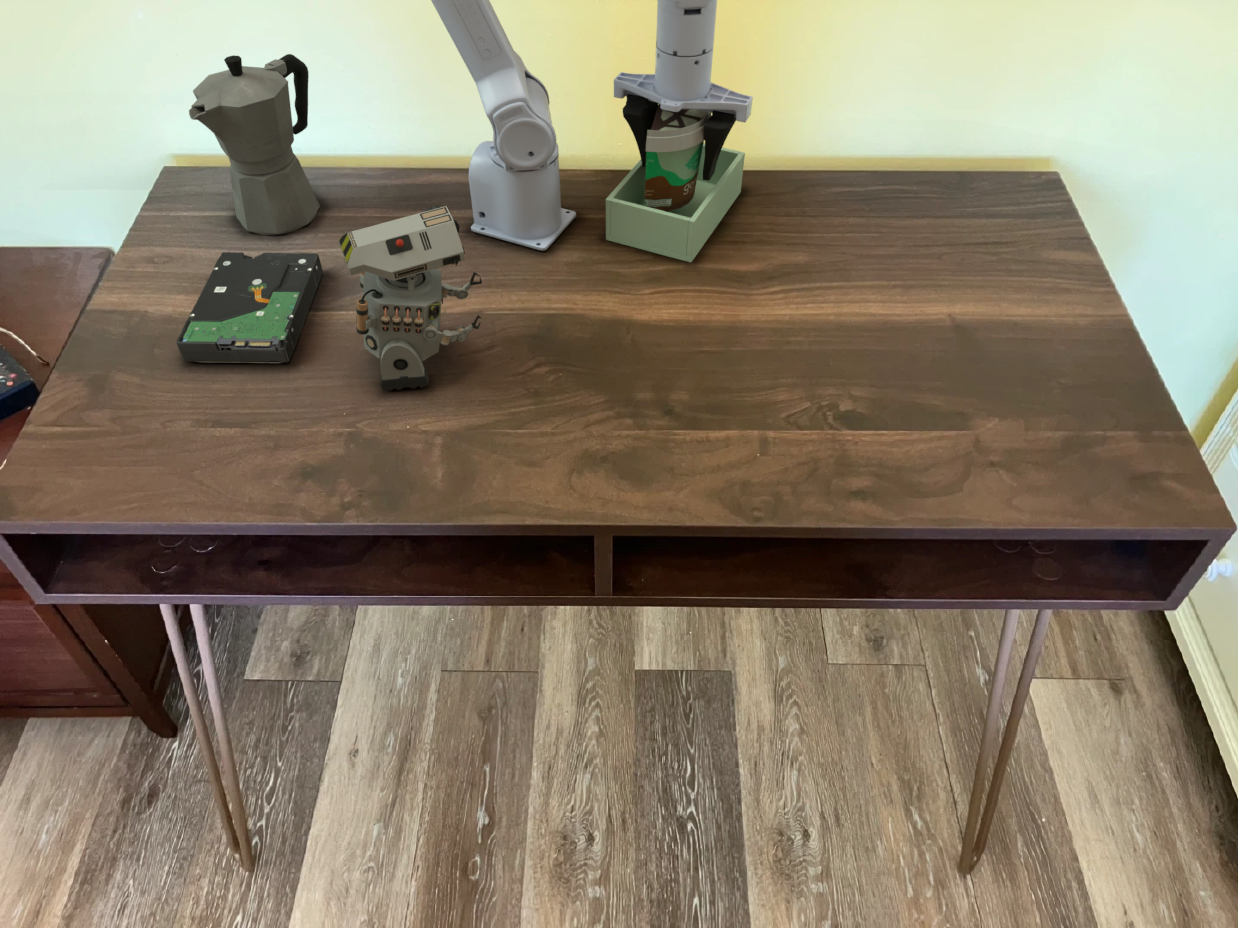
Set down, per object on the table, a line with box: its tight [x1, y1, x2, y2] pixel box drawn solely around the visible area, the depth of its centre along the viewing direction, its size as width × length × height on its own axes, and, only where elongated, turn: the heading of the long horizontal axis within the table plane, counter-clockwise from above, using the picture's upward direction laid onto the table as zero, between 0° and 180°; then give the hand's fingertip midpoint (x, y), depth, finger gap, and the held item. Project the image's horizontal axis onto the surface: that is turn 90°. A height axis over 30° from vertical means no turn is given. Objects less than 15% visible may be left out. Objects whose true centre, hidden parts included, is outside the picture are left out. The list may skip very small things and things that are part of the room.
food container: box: [644, 104, 712, 212], centre depth 101 cm, size 12×6×10 cm, turn 170°
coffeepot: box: [188, 53, 321, 236], centre depth 101 cm, size 15×9×18 cm, turn 149°
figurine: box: [337, 204, 483, 392], centre depth 85 cm, size 9×12×15 cm
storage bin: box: [605, 142, 746, 263], centre depth 105 cm, size 10×16×5 cm, turn 155°
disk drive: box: [176, 251, 324, 364], centre depth 93 cm, size 10×3×15 cm
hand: (677, 169), depth 103 cm, fingers closed on food container, 6 cm apart
